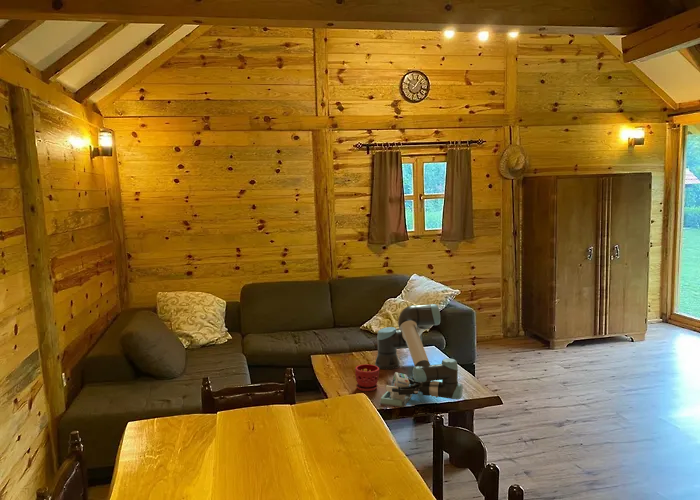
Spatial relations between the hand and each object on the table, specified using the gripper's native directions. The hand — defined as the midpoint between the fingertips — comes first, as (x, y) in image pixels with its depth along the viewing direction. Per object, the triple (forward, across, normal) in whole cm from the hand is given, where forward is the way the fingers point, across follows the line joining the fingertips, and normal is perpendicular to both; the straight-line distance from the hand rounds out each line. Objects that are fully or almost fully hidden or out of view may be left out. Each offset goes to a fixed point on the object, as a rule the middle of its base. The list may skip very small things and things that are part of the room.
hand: (390, 383), depth 267 cm
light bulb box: (-3, 0, -6) cm, 7 cm away
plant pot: (+17, +10, -8) cm, 21 cm away
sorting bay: (-3, 0, -8) cm, 9 cm away
